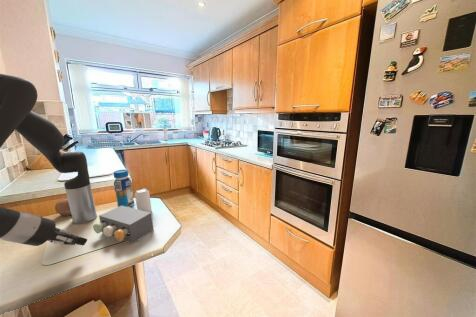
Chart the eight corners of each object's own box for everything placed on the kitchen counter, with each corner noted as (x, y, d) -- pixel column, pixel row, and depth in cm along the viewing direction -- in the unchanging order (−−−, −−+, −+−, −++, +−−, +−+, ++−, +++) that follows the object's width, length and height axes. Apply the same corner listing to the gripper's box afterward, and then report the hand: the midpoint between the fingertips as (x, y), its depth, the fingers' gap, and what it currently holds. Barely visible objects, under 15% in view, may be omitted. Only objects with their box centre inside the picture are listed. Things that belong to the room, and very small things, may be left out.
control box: (102, 232, 83) (99, 215, 81) (124, 221, 92) (121, 205, 90) (132, 243, 75) (129, 224, 74) (153, 229, 84) (151, 212, 82)
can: (146, 215, 96) (143, 193, 94) (135, 214, 98) (131, 192, 95) (154, 209, 102) (151, 188, 100) (143, 208, 104) (140, 187, 101)
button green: (94, 232, 79) (92, 223, 78) (106, 226, 83) (104, 217, 83) (100, 234, 78) (98, 225, 77) (112, 228, 82) (110, 219, 81)
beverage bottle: (115, 205, 108) (109, 171, 104) (131, 200, 115) (126, 168, 110) (120, 210, 103) (114, 174, 99) (137, 204, 109) (131, 170, 105)
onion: (74, 215, 105) (77, 197, 107) (81, 215, 100) (83, 195, 102) (50, 217, 97) (54, 196, 100) (56, 216, 92) (60, 195, 95)
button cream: (104, 235, 76) (102, 226, 76) (116, 229, 81) (114, 220, 80) (110, 238, 75) (109, 228, 74) (122, 231, 79) (121, 222, 78)
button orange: (114, 239, 74) (113, 230, 73) (126, 232, 78) (125, 223, 77) (121, 242, 72) (120, 232, 71) (133, 234, 77) (132, 225, 76)
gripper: (49, 220, 54) (102, 235, 67) (27, 212, 59) (80, 227, 73) (28, 248, 50) (89, 258, 64) (6, 237, 56) (67, 248, 69)
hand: (84, 241), depth 68 cm, fingers closed
